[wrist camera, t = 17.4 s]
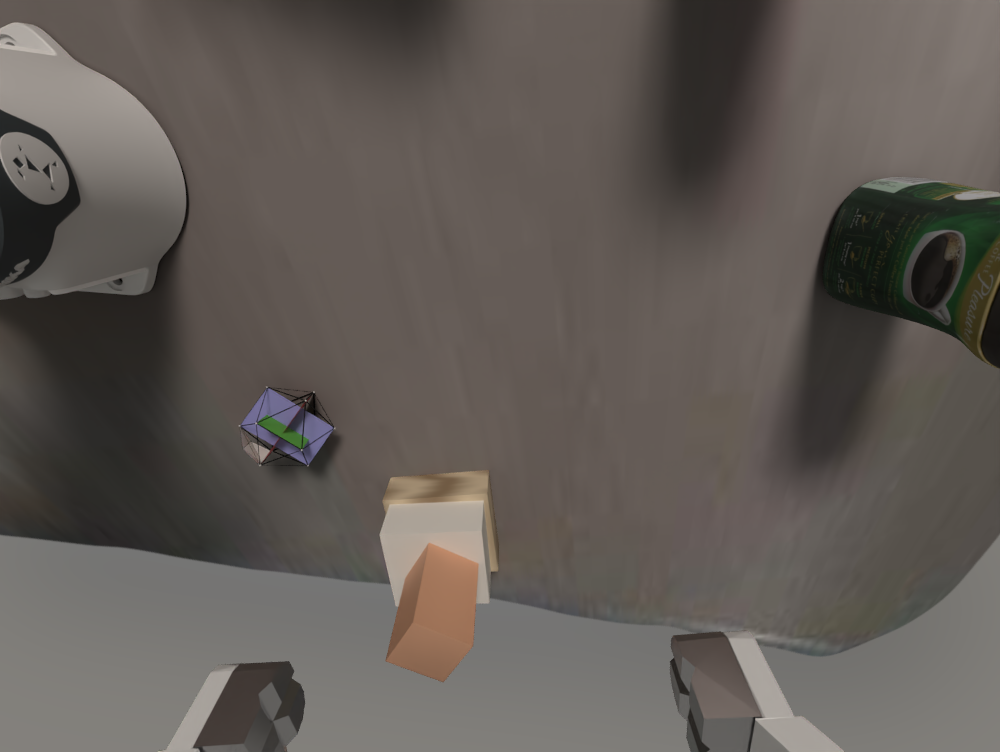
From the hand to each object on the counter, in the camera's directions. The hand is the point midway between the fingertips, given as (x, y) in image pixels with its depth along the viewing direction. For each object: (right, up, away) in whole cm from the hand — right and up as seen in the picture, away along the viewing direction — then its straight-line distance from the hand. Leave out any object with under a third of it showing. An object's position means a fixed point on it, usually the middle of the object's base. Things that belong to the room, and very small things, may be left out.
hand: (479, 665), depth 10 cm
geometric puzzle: (-18, +3, +36) cm, 40 cm away
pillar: (-5, -12, +34) cm, 36 cm away
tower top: (-5, -10, +37) cm, 39 cm away
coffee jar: (+30, +17, +28) cm, 45 cm away
